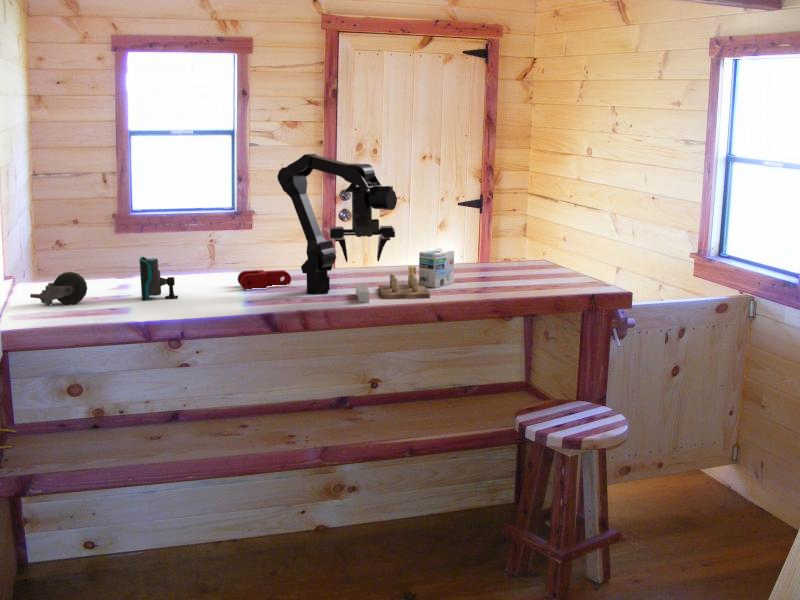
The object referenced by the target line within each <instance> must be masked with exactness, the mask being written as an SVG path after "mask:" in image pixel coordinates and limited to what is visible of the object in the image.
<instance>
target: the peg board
mask: <svg viewBox="0 0 800 600" xmlns="http://www.w3.org/2000/svg"><path fill="white" fill-rule="evenodd" d="M378 291H379V293H380V296H381V297H382V299H431V298H430V297H431V293H430V291H429V290H428V289H427V286H424V285H419V277H416V278H415V274H409V285H408V284H399V278H398V277H397V275H396V273H390V274H389V284H379V285H378Z"/></svg>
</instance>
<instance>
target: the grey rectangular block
mask: <svg viewBox="0 0 800 600" xmlns="http://www.w3.org/2000/svg"><path fill="white" fill-rule="evenodd" d="M355 296H356V299H357V301H358V304H363V303H364V304H368V303H370V290H369V289H368V285H367V284H366V283H355Z"/></svg>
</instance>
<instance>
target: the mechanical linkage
mask: <svg viewBox="0 0 800 600" xmlns="http://www.w3.org/2000/svg"><path fill="white" fill-rule="evenodd" d="M283 277H284V279H283V280H281V279H282V278H283ZM237 282H238V284H239V285H240V286H241V287H242V289H243V290H245V289H252V288H266V287H267V286H272V285H287V284H289V285H290V284H291V283H292V277H291V274H290V273H289V272H287V271H286V270H282V269H281V270H264V269H253V270H243V271H241V272H240V273H239V274H238V276H237Z"/></svg>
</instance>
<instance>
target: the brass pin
mask: <svg viewBox="0 0 800 600" xmlns="http://www.w3.org/2000/svg"><path fill="white" fill-rule="evenodd" d="M407 269H408V270H407V285H409V274H415V278H417V275H416V273H417V271H416V270H417V266H416V265H410V266H409V265H408V266H407Z"/></svg>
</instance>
